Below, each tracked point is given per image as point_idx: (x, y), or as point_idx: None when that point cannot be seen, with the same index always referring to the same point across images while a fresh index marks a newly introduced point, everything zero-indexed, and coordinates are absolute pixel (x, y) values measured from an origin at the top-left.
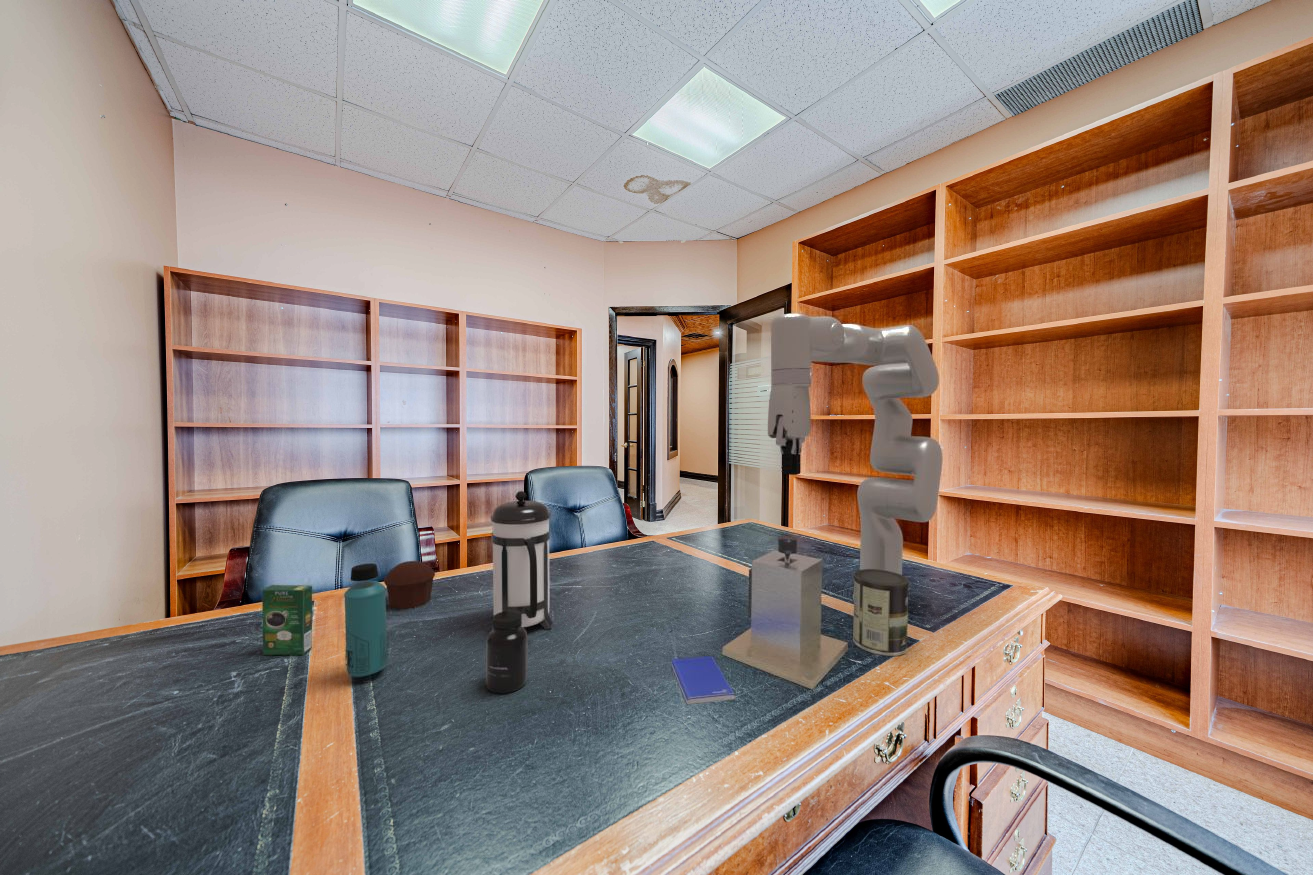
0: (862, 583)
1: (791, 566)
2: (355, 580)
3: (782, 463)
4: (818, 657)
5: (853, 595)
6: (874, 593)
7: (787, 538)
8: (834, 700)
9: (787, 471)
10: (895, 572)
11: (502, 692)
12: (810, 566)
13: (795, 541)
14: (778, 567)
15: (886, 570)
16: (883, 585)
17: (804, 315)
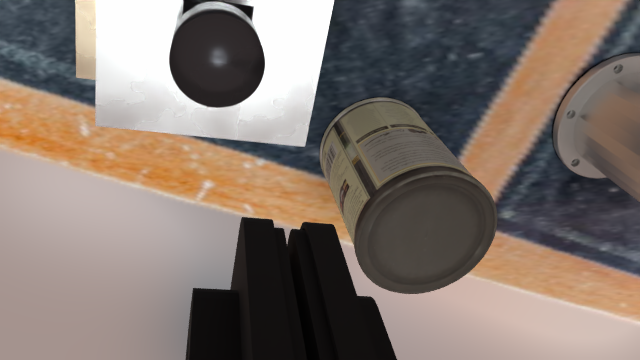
0: (369, 200)
1: (138, 75)
2: None
3: (248, 295)
4: None
5: (626, 59)
6: (351, 219)
7: (231, 58)
8: (72, 117)
9: (236, 285)
10: (636, 199)
11: None
12: (188, 134)
13: (205, 104)
14: (97, 29)
15: (634, 183)
16: (356, 253)
17: None
